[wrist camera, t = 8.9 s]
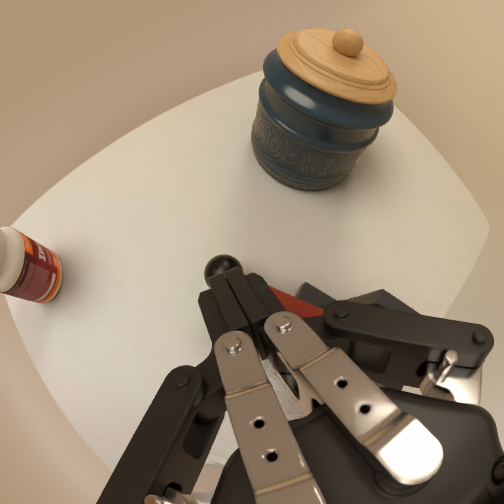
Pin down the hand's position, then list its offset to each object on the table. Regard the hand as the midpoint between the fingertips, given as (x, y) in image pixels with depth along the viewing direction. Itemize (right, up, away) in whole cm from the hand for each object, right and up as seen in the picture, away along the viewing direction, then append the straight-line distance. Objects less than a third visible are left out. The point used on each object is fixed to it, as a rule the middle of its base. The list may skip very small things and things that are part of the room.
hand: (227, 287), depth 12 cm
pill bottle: (-22, -1, +12) cm, 26 cm away
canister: (+7, +14, +20) cm, 26 cm away
